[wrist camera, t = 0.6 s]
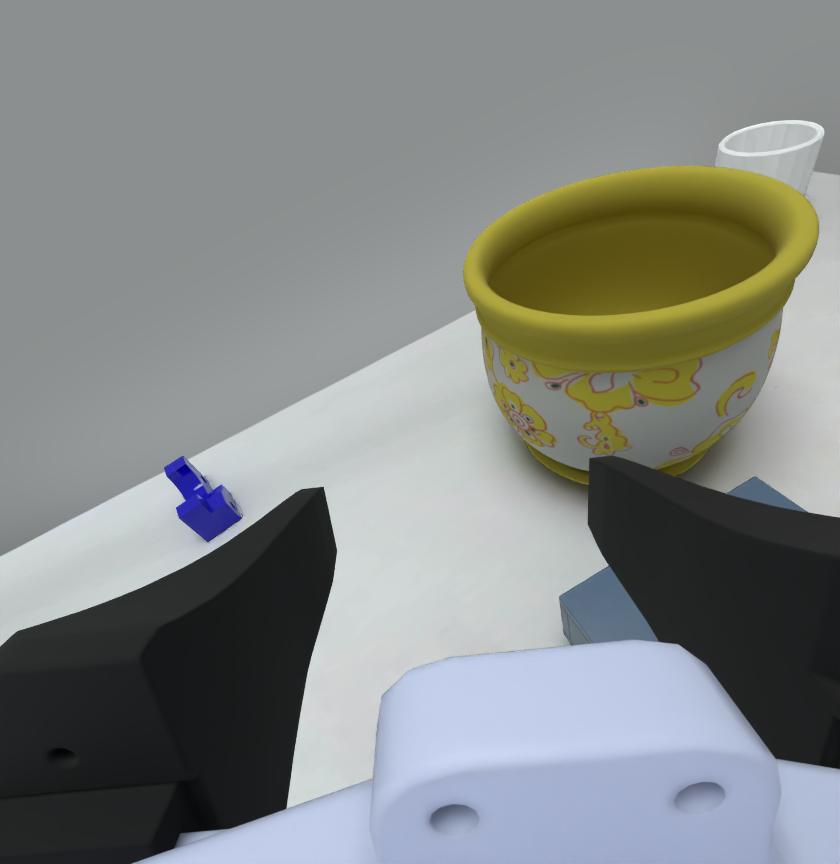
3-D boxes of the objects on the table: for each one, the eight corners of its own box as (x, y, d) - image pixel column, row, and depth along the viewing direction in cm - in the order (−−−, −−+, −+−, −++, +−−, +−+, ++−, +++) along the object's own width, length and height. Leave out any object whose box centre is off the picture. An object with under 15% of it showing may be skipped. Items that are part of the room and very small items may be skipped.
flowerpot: (459, 455, 39) (403, 288, 28) (572, 338, 46) (564, 164, 34) (673, 570, 28) (726, 368, 16) (783, 393, 34) (875, 160, 23)
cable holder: (241, 518, 41) (216, 493, 38) (207, 541, 40) (179, 518, 38) (220, 471, 47) (196, 446, 44) (190, 491, 46) (164, 467, 43)
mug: (834, 211, 48) (873, 103, 41) (758, 263, 46) (786, 157, 39) (757, 200, 54) (781, 103, 47) (686, 245, 51) (700, 150, 44)
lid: (752, 482, 25) (772, 432, 22) (1199, 795, 14) (1357, 777, 11) (558, 601, 24) (553, 564, 21) (893, 1052, 13) (983, 1109, 10)
